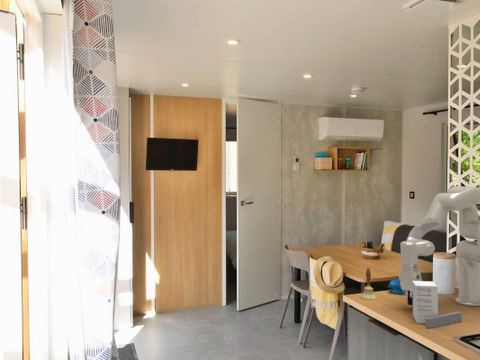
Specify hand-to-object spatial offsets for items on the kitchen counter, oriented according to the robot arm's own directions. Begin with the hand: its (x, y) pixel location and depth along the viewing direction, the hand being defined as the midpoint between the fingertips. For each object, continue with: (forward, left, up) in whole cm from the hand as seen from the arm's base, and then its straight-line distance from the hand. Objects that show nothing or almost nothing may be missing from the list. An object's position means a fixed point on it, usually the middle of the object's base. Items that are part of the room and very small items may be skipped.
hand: (411, 304), depth 193 cm
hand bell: (+4, -26, -3) cm, 27 cm away
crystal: (-16, -25, -3) cm, 30 cm away
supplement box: (+4, +12, -3) cm, 13 cm away
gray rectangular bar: (+1, +19, -3) cm, 19 cm away
